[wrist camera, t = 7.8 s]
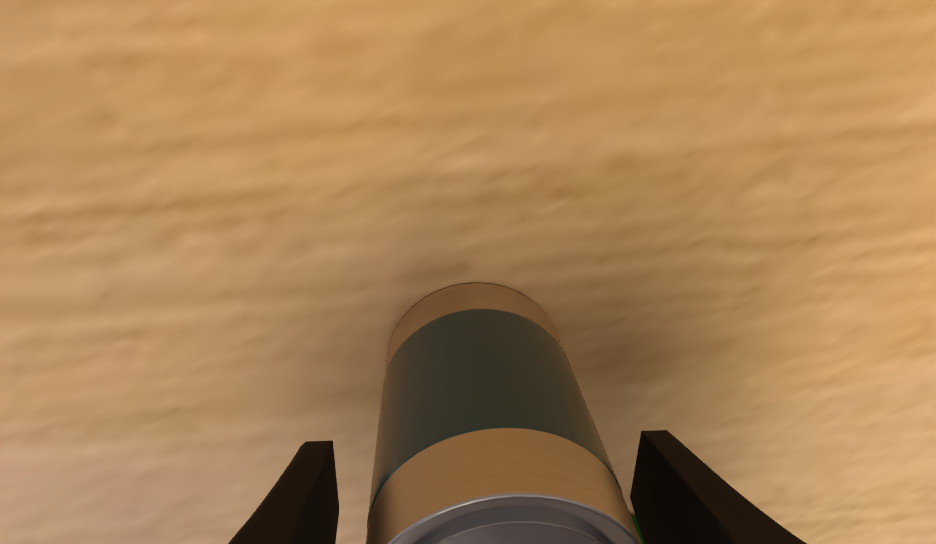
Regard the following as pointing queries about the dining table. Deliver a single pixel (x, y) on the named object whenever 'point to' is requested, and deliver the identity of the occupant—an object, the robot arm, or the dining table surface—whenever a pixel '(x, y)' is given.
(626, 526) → the tin can
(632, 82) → the dining table surface
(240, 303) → the dining table surface
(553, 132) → the dining table surface
